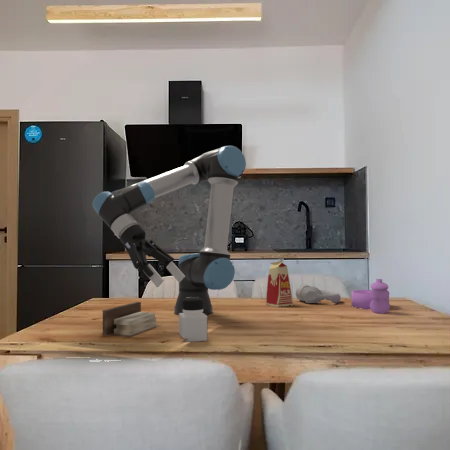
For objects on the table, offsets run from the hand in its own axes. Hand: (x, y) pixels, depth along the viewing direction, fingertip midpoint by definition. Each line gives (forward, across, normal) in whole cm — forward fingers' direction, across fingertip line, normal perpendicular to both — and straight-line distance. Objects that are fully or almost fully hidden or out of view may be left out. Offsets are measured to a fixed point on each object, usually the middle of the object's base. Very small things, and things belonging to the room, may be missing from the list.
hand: (172, 281), depth 122 cm
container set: (+52, -73, +27) cm, 94 cm away
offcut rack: (+2, 0, -21) cm, 21 cm away
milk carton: (+23, -70, -1) cm, 74 cm away
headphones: (+34, -85, +10) cm, 92 cm away
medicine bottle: (+17, 0, -7) cm, 18 cm away
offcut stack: (+2, 0, -20) cm, 20 cm away
